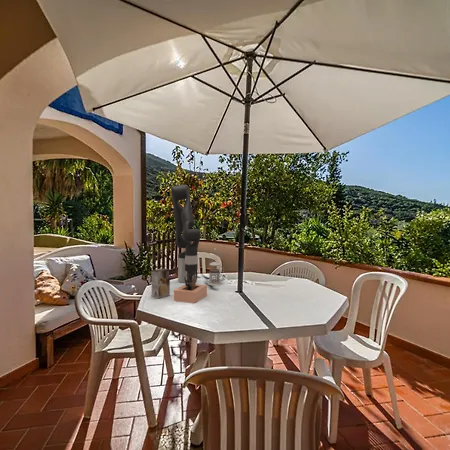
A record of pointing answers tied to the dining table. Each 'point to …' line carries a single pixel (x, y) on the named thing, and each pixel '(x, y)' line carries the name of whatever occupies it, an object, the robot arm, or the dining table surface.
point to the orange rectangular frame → (190, 293)
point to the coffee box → (160, 283)
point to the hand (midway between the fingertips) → (191, 291)
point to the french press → (215, 271)
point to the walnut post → (192, 284)
